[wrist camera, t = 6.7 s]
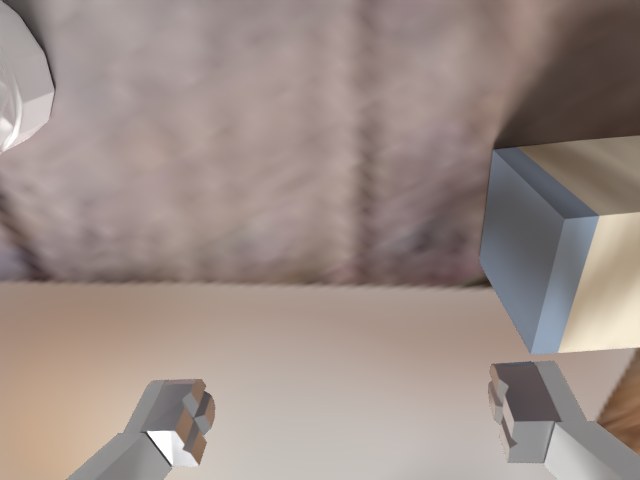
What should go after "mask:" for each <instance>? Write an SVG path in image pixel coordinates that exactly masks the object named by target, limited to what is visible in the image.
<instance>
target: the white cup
mask: <svg viewBox="0 0 640 480" xmlns="http://www.w3.org/2000/svg"><path fill="white" fill-rule="evenodd" d="M54 92H55V90H54V86H53V82H52V79H51V75H50V71H49V68H48V64H47V60H46V56H45V53H44V52H43V50H42V49H41V47H40V46H39V44H38V43H37V41H36V40H35V38H34V37H33V35H32V34H31V32H30V31H29V29H28V28H27V26H26V25H25V23H24V22H23V20H22V19H21V17H20V16H19V15H18V14H17V13H16V12H15V11H14V10H13V9H11V8H10V7H9V6H8V5H7V4H5V3H4V2H3V1H2V0H0V155H1V153H2V152H4V151H6V150H8V149H10V148H12V147H14V146H16V145H17V144H19V143H21V142H23V141H25V140H27V139H29V138H30V137H31V136H32V135H33V134H34V133H36V132H37V131H38V130H39V129H40V128H41V127H42V126H43V125H44V124H46V123H47V122H48V121H49V118H50V113H51V108H52V102H53V97H54Z"/></svg>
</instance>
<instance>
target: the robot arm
mask: <svg viewBox="0 0 640 480" xmlns="http://www.w3.org/2000/svg"><path fill="white" fill-rule="evenodd" d="M490 375H491V378H492V381H491V382H490V383H489V387H488V394H489V402H490V407H491V411H492V414H493V418H494V420H495V421H496V422H497V423H498V424H499V425H500V435H499V437H500V441H501V444H502V446H503V450H504V453H505V456H506V459H507V462H508V463H544V466H545V467H546V468H547V469H548V470H549V471H550V472H551V473H552V474H553V475H554V476H555V478H556V479H557V480H640V456H639V455H638V454H636V453H635V452H634V451H633V450H631V449H630V448H629V447H627V446H626V445H625V444H623V443H622V442H621V441H619V440H618V439H617V438H616V437H614V436H613V435H612V434H610V433H609V432H608V431H606V430H605V429H604V428H603V427H601V426H600V425H599V424H597V423H596V422H595V421H587V419H586V417H585V416H584V414H583V412H582V410H581V408H580V406H579V404H578V402H577V400H576V398H575V396H574V394H573V393H572V391H571V389H570V387H569V385H568V383H567V381H566V379H565V377H564V375H563V373H562V371H561V370H560V368H559V366H558V364H557V363H556V362H555V361H540V362H531V361H530V362H515V363H501V364H500V363H499V364H492V365H491V366H490ZM205 387H206V385H205V383H204V382H203V380H202V379H188V380H155V381H151V382H150V383H149V384H148V385H147V387H146V389H145V391H144V393H143V395H142V397H141V399H140V401H139V403H138V404H137V407H136V409H135V411H134V413H133V414H132V416H131V418H130V420H129V422H128V424H127V426H126V428H125V430H124V432H123V433H119V434H117V435H116V436H115V437H114V438H113V439H111V440H110V441H109V442H108V443H107V444H106V445H105V446H103V447H102V448H101V449H100V450H99V451H98V452H97V453H95V454H94V455H93V456H92V457H91V458H90V459H89V460H87V461H86V462H85V463H84V464H83V465H82V466H81V467H80V468H79V469H77V470H76V471H75V472H74V473H73V474H72V475H70V476H69V477H68V478H67V479H66V480H163V479H164V478H165V477H166V476H167V474H168V473H169V472H170V471H171V469H172V468H171V467H185V466H199V465H200V462H201V459H202V456H203V453H204V449H205V446H206V443H207V442H206V439H205V436H204V435H205V434H206V433H207V432H208V431H209V430H210V429H211V427H212V424H213V421H214V417H215V404H214V400H213V398H212V396H211V395H210V394H209V393H207V392H205V391H204V390H205Z"/></svg>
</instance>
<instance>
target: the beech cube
mask: <svg viewBox="0 0 640 480" xmlns="http://www.w3.org/2000/svg"><path fill="white" fill-rule="evenodd" d="M479 263H480V265H481V267H482V268H483V270H484V272H485V274H486V275H487V277H488V279H489V281H490V283H491V284H492V286H493V288H494V290H495V292H496V293H497V295H498V297H499V298H500V301H501V302H502V304H503V306H504V308H505V309H506V311H507V313H508V315H509V317H510V318H511V320H512V322H513V324H514V325H515V327H516V329H517V331H518V333H519V335H520V336H521V338H522V340H523V342H524V344H525V345H526V347H527V349H528V351H529V353H530V354H531V355H532V354H546V353H560V352H576V351H591V350H604V349H619V348H635V347H640V135H639V136H627V137H615V138H603V139H590V140H578V141H569V142H559V143H550V144H541V145H532V146H522V147H513V148H504V149H495V150H493V153H492V161H491V170H490V178H489V186H488V194H487V202H486V210H485V218H484V226H483V234H482V242H481V250H480V259H479Z"/></svg>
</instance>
